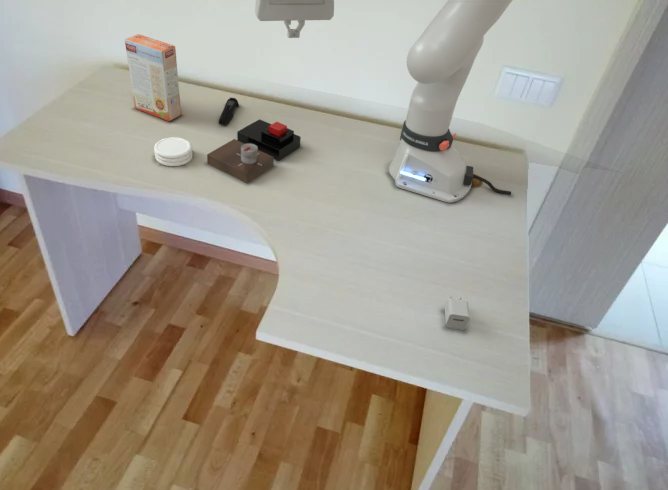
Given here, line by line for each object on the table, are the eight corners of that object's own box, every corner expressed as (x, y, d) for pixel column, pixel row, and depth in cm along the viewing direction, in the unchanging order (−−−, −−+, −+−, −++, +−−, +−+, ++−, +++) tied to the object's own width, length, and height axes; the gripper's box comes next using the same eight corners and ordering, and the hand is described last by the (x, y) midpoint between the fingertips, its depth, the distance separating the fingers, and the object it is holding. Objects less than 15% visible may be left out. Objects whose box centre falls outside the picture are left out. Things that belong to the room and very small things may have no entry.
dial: (247, 153, 144) (247, 140, 141) (260, 158, 142) (261, 146, 139) (237, 160, 141) (237, 147, 138) (251, 165, 139) (251, 153, 137)
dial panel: (274, 167, 145) (274, 156, 143) (248, 184, 139) (248, 173, 136) (234, 148, 151) (234, 138, 149) (207, 164, 144) (206, 153, 142)
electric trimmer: (215, 127, 159) (214, 118, 157) (227, 103, 170) (227, 94, 168) (227, 129, 159) (227, 119, 156) (239, 105, 170) (239, 96, 167)
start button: (286, 132, 149) (287, 125, 148) (278, 137, 147) (279, 130, 145) (276, 128, 150) (276, 121, 149) (268, 132, 148) (268, 125, 147)
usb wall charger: (444, 327, 107) (450, 313, 104) (443, 302, 112) (448, 289, 109) (464, 330, 107) (470, 316, 104) (462, 305, 112) (468, 292, 109)
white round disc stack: (199, 153, 148) (199, 142, 145) (179, 171, 141) (178, 159, 138) (169, 144, 150) (167, 132, 148) (147, 160, 144) (146, 149, 141)
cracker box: (182, 115, 163) (176, 45, 148) (169, 122, 159) (161, 51, 144) (148, 101, 168) (138, 32, 153) (134, 108, 164) (123, 38, 149)
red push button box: (299, 147, 153) (301, 130, 150) (278, 161, 147) (279, 143, 144) (259, 130, 159) (259, 112, 155) (237, 142, 153) (237, 125, 149)
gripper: (333, -25, 136) (327, 32, 146) (254, -25, 132) (253, 33, 141) (340, -17, 132) (334, 40, 141) (259, -17, 127) (258, 42, 137)
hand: (293, 37), depth 141 cm, fingers closed
